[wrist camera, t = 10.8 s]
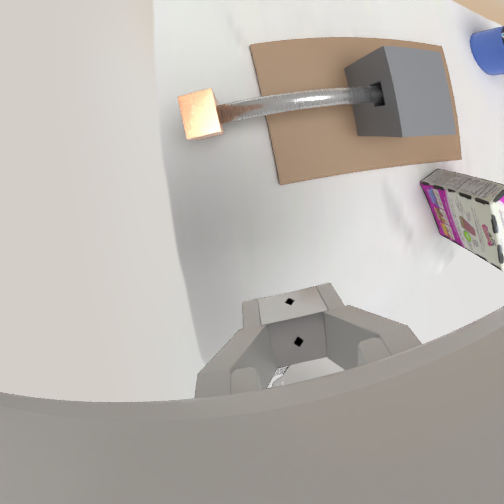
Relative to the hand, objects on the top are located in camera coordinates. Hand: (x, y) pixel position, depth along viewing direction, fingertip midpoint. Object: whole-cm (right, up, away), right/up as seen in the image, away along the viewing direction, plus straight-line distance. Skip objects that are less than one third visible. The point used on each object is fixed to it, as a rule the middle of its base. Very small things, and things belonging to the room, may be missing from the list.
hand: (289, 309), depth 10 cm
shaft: (+4, +19, +20) cm, 28 cm away
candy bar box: (+30, +10, +31) cm, 45 cm away
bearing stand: (+16, +24, +25) cm, 38 cm away
